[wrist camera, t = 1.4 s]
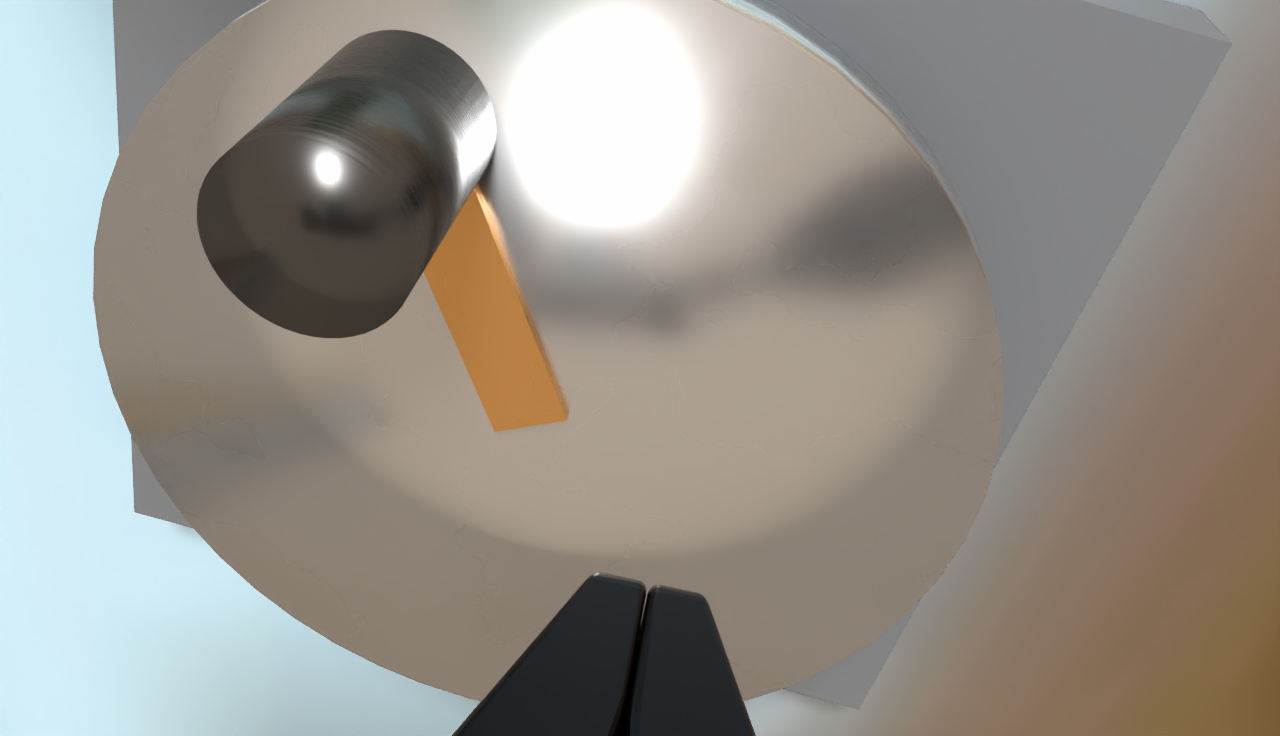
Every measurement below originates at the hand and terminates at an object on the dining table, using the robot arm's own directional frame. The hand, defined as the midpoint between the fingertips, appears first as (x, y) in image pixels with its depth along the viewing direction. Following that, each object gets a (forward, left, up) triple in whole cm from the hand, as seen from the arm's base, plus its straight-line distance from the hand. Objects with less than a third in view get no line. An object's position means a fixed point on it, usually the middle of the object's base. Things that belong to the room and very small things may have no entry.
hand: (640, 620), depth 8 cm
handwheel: (+2, +5, -9) cm, 10 cm away
